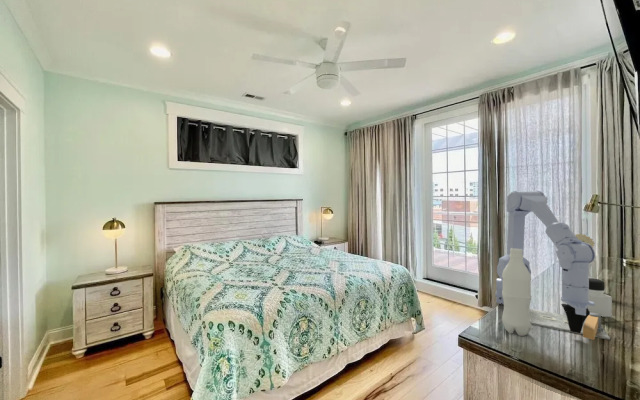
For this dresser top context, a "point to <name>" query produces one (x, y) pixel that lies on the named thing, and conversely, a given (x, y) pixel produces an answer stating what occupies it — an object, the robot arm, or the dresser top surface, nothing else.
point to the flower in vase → (589, 241)
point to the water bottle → (516, 294)
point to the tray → (558, 322)
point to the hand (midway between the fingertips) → (575, 331)
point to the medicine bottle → (599, 298)
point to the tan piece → (591, 325)
